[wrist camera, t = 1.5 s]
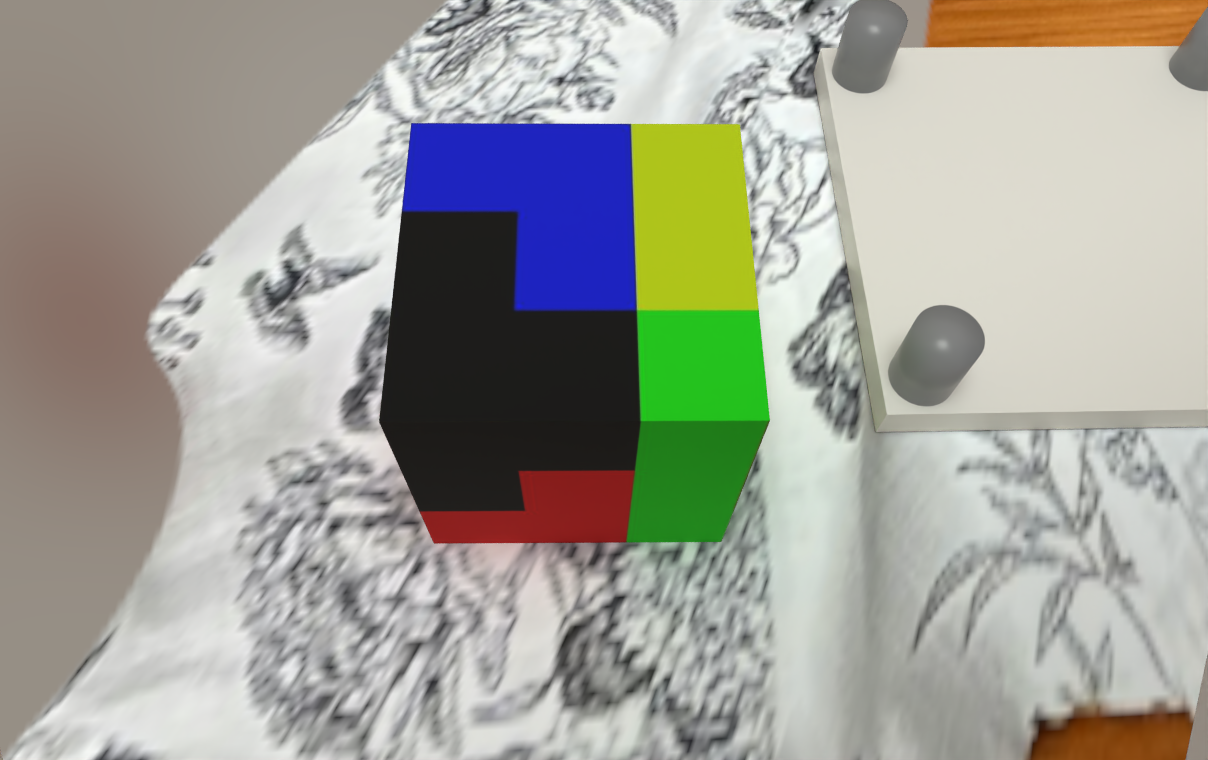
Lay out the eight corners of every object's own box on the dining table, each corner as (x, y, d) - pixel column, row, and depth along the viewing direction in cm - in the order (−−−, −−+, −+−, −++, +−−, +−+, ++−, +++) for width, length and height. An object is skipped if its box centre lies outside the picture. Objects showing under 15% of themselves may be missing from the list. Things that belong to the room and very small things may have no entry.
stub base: (1199, 71, 44) (1261, -9, 40) (1351, 424, 36) (1446, 367, 32) (813, 73, 44) (836, -8, 40) (875, 432, 35) (912, 375, 31)
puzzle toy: (452, 300, 38) (411, 123, 29) (703, 300, 38) (739, 124, 29) (434, 544, 33) (378, 421, 24) (721, 542, 33) (770, 420, 25)
